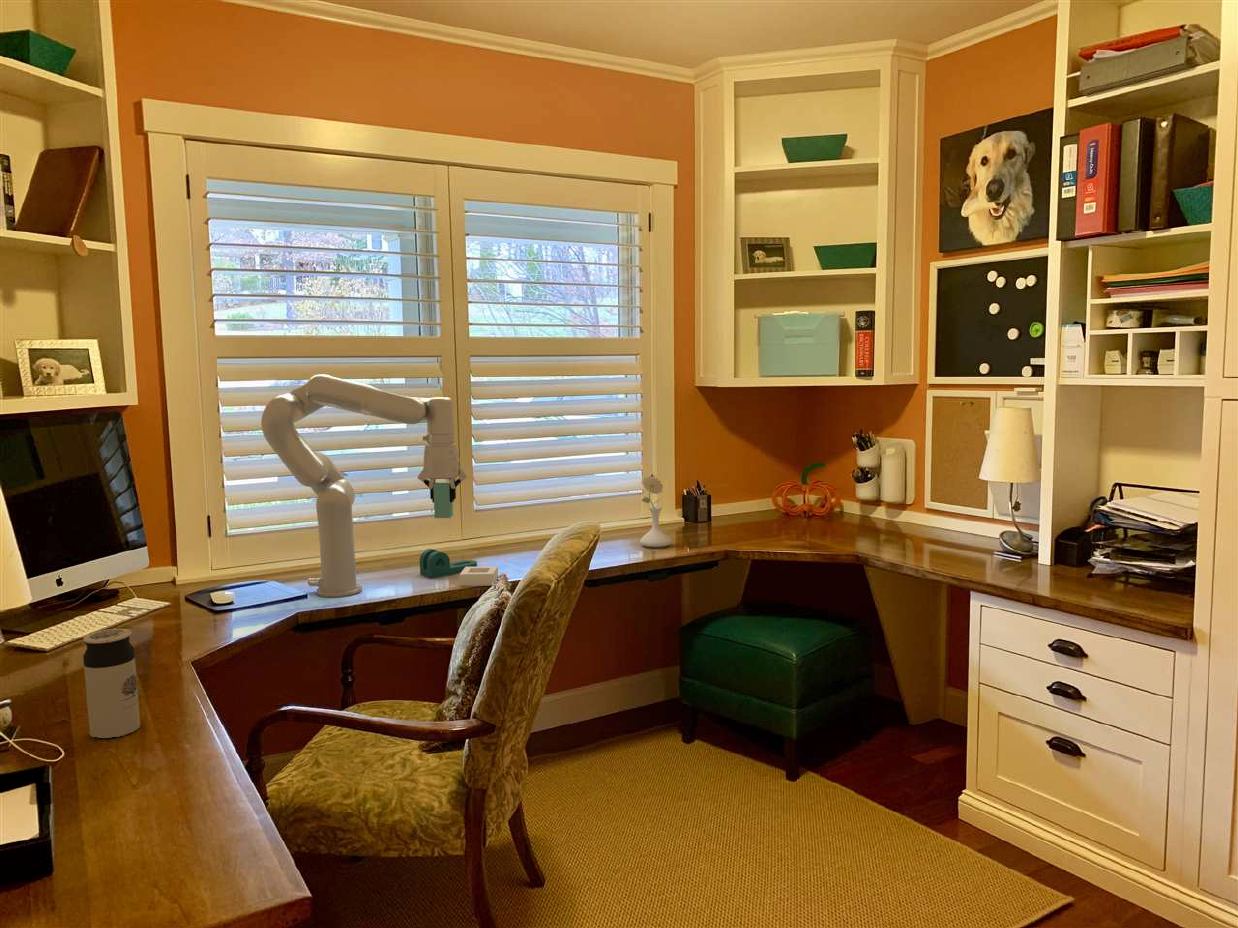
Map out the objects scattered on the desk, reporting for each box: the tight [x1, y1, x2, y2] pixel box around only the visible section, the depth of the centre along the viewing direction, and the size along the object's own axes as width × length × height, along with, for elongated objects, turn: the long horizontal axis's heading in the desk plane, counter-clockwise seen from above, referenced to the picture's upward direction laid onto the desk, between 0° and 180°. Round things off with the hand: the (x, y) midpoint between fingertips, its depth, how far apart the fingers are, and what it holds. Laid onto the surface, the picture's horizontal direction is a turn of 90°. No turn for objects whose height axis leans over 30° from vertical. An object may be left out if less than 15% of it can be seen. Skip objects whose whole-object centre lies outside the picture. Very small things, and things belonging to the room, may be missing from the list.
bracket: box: [419, 548, 478, 579], centre depth 284 cm, size 18×7×8 cm, turn 130°
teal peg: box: [433, 481, 454, 519], centre depth 264 cm, size 4×4×10 cm
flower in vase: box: [639, 475, 673, 548], centre depth 317 cm, size 13×11×25 cm
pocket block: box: [459, 565, 499, 587], centre depth 270 cm, size 10×10×4 cm
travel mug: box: [82, 628, 141, 739], centre depth 162 cm, size 8×8×18 cm
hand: (443, 501), depth 264 cm, fingers closed on teal peg, 4 cm apart
